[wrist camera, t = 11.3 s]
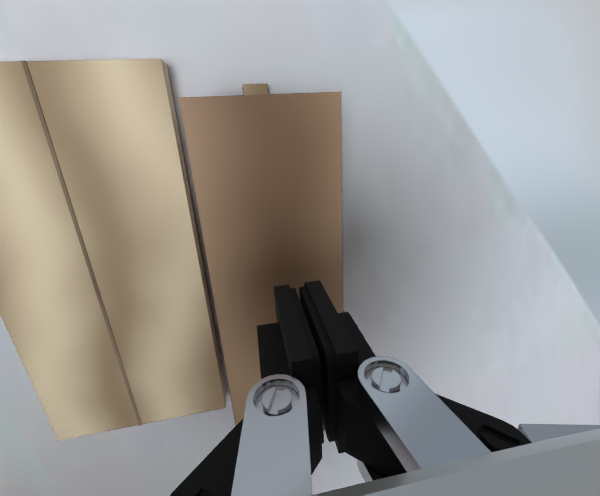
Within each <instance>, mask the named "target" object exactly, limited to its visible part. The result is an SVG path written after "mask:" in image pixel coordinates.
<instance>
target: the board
mask: <svg viewBox="0 0 600 496" xmlns="http://www.w3.org/2000/svg"><path fill="white" fill-rule="evenodd" d="M242 87H243V95H265V94H268V84H243V86H242ZM0 315H1V317H2V319H3V321H4V323H5V326H6V328H7V330H8V332H9V334H10V337H11V339H12V341H13V343H14V345H15V348H16V350H17V352H18V354H19V356H20V359H21V361H22V363H23V365H24V367H25V370H26V372H27V374H28V376H29V378H30V381H31V383H32V385H33V387H34V389H35V392H36V394H37V396H38V398H39V400H40V402H41V405H42V407H43V409H44V411H45V413H46V416H47V418H48V420H49V422H50V424H51V427H52V429H53V431H54V433H55V435H56V438H57V440H58V441H60V440H65V439H70V438H75V437H80V436H85V435H90V434H95V433H100V432H105V431H110V430H115V429H121V428H126V427H131V426H136V425H142V424H146V423H151V422H156V421H161V420H166V419H171V418H176V417H182V416H187V415H192V414H197V413H202V412H207V411H212V410H217V409H222V408H226V389H225V383H224V378H223V372H222V367H221V361H220V356H219V350H218V345H217V339H216V334H215V328H214V323H213V317H212V311H211V306H210V300H209V295H208V289H207V284H206V278H205V273H204V267H203V262H202V256H201V251H200V245H199V240H198V234H197V228H196V223H195V217H194V212H193V206H192V201H191V195H190V190H189V184H188V179H187V173H186V168H185V162H184V157H183V151H182V145H181V140H180V134H179V129H178V123H177V118H176V112H175V107H174V101H173V96H172V90H171V85H170V79H169V74H168V68H167V65H166V64H165V63H164V61H163V60H162V59H125V60H71V61H17V62H0Z"/></svg>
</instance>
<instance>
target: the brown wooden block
mask: <svg viewBox="0 0 600 496" xmlns="http://www.w3.org/2000/svg"><path fill="white" fill-rule="evenodd" d="M179 102H180V108H181V113H182V119H183V125H184V131H185V136H186V142H187V148H188V154H189V159H190V165H191V171H192V177H193V183H194V188H195V194H196V200H197V206H198V211H199V217H200V223H201V229H202V234H203V240H204V246H205V252H206V257H207V263H208V269H209V275H210V280H211V286H212V292H213V298H214V304H215V309H216V315H217V321H218V327H219V332H220V338H221V344H222V350H223V355H224V361H225V367H226V373H227V378H228V384H229V390H230V396H231V402H232V407H233V413H234V419H235V425H237V424H238V423H239V422H240V421H241V420H242V419H243V418H244V413H245V407H246V401H247V396H248V394H249V391H250V389H251V388H252V387H253V386H254V384H255V383H257V382H258V381H259V380H261V372H260V360H259V348H258V336H257V325H264V324H270V323H277V318H276V308H275V297H274V286H281V285H288V284H289V286H290V288H296V291H297V294H298V297H299V300H300V295H299V287H303V286H304V283H305V282H310V281H318V280H320V282H321V283H322V285H323V287H324V289H325V291H326V292H327V294H328V296H329V298H330V300H331V302H332V303H333V305H334V307H335V309H336V311H337V312H338V313H343V237H342V128H341V92H320V93H292V94H265V95H238V96H211V97H183V98H179ZM324 430H325V428H324V424H323V431H324Z"/></svg>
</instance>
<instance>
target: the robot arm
mask: <svg viewBox="0 0 600 496" xmlns="http://www.w3.org/2000/svg"><path fill="white" fill-rule="evenodd" d="M299 295H300V300H299V297H298V294H297V291H296V288H290V286H289V284H288V285H281V286H274V297H275V308H276V318H277V323H270V324H264V325H257V336H258V348H259V360H260V372H261V380H259V381H258V382H257V383H255V384H254V386H253V387H252V388H251V389H250V391H249V394H248V396H247V401H246V407H245V413H244V418H243V419H242V420H241V421H240V422H239V423H238V424H237V425H236V426H235V427H234V429H233V430H232V431H231V432H230V433H229V434H228V435H227V436H226V437H225V438H224V439H223V440H222V441H221V442H220V443H219V444H218V445H217V446H216V447H215V448H214V449H213V451H212V452H211V453H210V454H209V455H208V456H207V457H206V458H205V459H204V460H203V461H202V462H201V463H200V464H199V465H198V466H197V467H196V468H195V469H194V470H193V471H192V473H191V474H190V475H189V476H188V477H187V478H186V479H185V480H184V481H183V482H182V483H181V484H180V485H179V486H178V487H177V488H176V489H175V490H174V491H173V492H172V494H171V495H170V496H600V425H557V424H519V428H518V429H516V428H515V427H514V426H512V425H510V424H508V423H506V422H504V421H502V420H500V419H498V418H495V417H493V416H490V415H488V414H485V413H483V412H480V411H477V410H475V409H472V408H470V407H467V406H465V405H462V404H460V403H457V402H455V401H452V400H450V399H447V398H445V397H442V396H439V395H437V394H435V393H434V392H433V391H432V390H431V389H430V388H429V387H428V386H427V385H426V384H425V383H424V382H423V381H422V380H421V379H420V378H419V377H418V376H417V375H416V374H415V373H414V372H413V371H412V369H411V368H410V367H408V366H407V365H406V364H405V363H403V362H401V361H399V360H397V359H394V358H390V357H383V356H378V357H376V356H375V355H374V353H373V351H372V350H371V348H370V346H369V345H368V343H367V341H366V340H365V338H364V337H363V335H362V333H361V332H360V330H359V328H358V327H357V325H356V324H355V322H354V320H353V319H352V317H351V315H350V314H349V313H348V312H343V313H338V312H337V311H336V309H335V307H334V305H333V303H332V302H331V300H330V298H329V296H328V294H327V292H326V291H325V289H324V287H323V285H322V283H321V282H320V280H318V281H310V282H305V283H304V286H303V287H299ZM323 424H324V428H325V431H326V435H327V438H328V441H329V442H331V441H335V443H336V446H337V449H338V452H339V453H343V452H346V453H348V454H349V455H351V456H353V457H354V458H356V459H357V465H358V468H359V471H360V473H361V475H362V477H363V479H364V481H365V483H361V484H357V485H353V486H349V487H345V488H341V489H337V490H332V491H328V492H324V493H320V494H316V495H312V480H311V475H312V473H313V472H314V470H315V468H316V467H317V465H318V463H319V462H320V460H321V459H322V443H324V435H323Z"/></svg>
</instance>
